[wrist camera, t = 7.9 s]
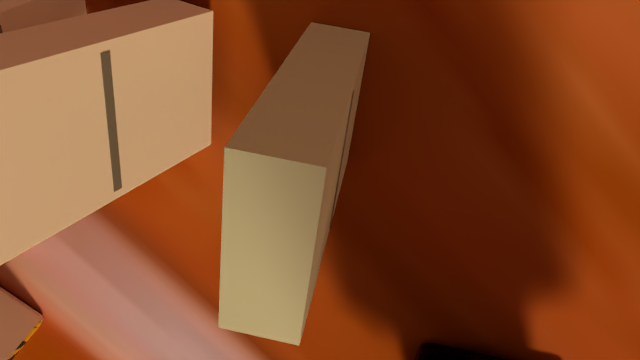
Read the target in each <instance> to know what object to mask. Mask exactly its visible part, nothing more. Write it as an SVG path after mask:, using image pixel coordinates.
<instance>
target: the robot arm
mask: <svg viewBox="0 0 640 360" xmlns="http://www.w3.org/2000/svg"><path fill="white" fill-rule="evenodd" d="M415 360H507V359H502V358H498V357H493V356H489V355H484V354H480V353H475V352H471V351H466V350H461V349H457V348H452V347H448V346H443V345H439V344H434V343H425V344H423V345H421V346H420V348H419V350H418V353H417V356H416V359H415Z"/></svg>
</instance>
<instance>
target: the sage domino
mask: <svg viewBox="0 0 640 360" xmlns="http://www.w3.org/2000/svg"><path fill="white" fill-rule="evenodd" d="M369 37H370V32H364V31H359V30H353V29H347V28H342V27H336V26H330V25H325V24H319V23H313V22H311V23H310V24H309V26H308V27H307V29H306V30H305V32H304V33H303V34H302V36H301V37H300V39H299V40H298V42H297V43H296V45H295V46H294V47H293V49H292V50H291V52H290V53H289V55H288V56H287V58H286V59H285V61H284V62H283V63H282V65H281V66H280V68H279V69H278V71H277V72H276V74H275V75H274V76H273V78H272V79H271V81H270V82H269V84H268V85H267V87H266V88H265V89H264V91H263V92H262V94H261V95H260V97H259V98H258V100H257V101H256V103H255V104H254V105H253V107H252V108H251V110H250V111H249V113H248V114H247V116H246V117H245V118H244V120H243V121H242V123H241V124H240V126H239V127H238V129H237V130H236V131H235V133H234V134H233V136H232V137H231V139H230V140H229V142H228V143H227V145H226V146H225V147H224V177H223V207H222V236H221V266H220V296H219V326H218V327H219V328H223V329H228V330H232V331H237V332H241V333H245V334H250V335H254V336H259V337H263V338H268V339H272V340H277V341H281V342H285V343H290V344H294V345H300V341H301V337H302V333H303V330H304V326H305V322H306V318H307V314H308V310H309V307H310V303H311V299H312V295H313V291H314V287H315V284H316V280H317V276H318V272H319V268H320V265H321V261H322V257H323V253H324V249H325V245H326V242H327V238H328V234H329V230H330V228H331V224H332V219H333V215H334V211H335V207H336V203H337V200H338V196H339V192H340V188H341V184H342V180H343V177H344V173H345V169H346V165H347V161H348V155H349V150H350V144H351V138H352V133H353V127H354V122H355V116H356V110H357V105H358V99H359V93H360V88H361V82H362V77H363V71H364V65H365V60H366V54H367V48H368V43H369Z"/></svg>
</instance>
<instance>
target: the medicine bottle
mask: <svg viewBox="0 0 640 360" xmlns="http://www.w3.org/2000/svg"><path fill="white" fill-rule="evenodd" d="M42 321H43V317H42V315H41V314H40V313H39V312H37V311H36V310H34V309H33V308H31V307H30V306H28V305H27V304H25V303H24V302H22V301H21V300H19V299H18V298H16V297H15V296H13V295H12V294H10V293H9V292H8V291H6V290H5V289H3V288H2V287H0V360H12V359H13V358H14V357H15V355H16V354H17V353H18V352H19V350H20V349H21V348H22V347H23V346H24V344H25V343H26V342H27V341H28V339H29V338H30V337H31V336H32V335H33V333H34V332H35V331H36V330H37V328H38V327H39V326H40V325H41V323H42Z"/></svg>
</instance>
